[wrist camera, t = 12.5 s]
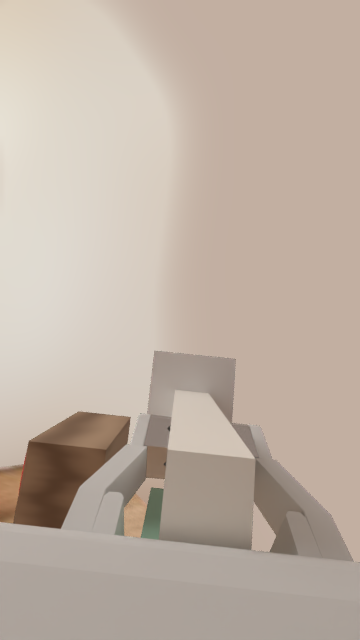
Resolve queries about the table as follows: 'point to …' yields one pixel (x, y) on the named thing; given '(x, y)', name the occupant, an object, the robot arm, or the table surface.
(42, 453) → the walnut pillar
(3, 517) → the table surface
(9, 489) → the table surface
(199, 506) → the plug
